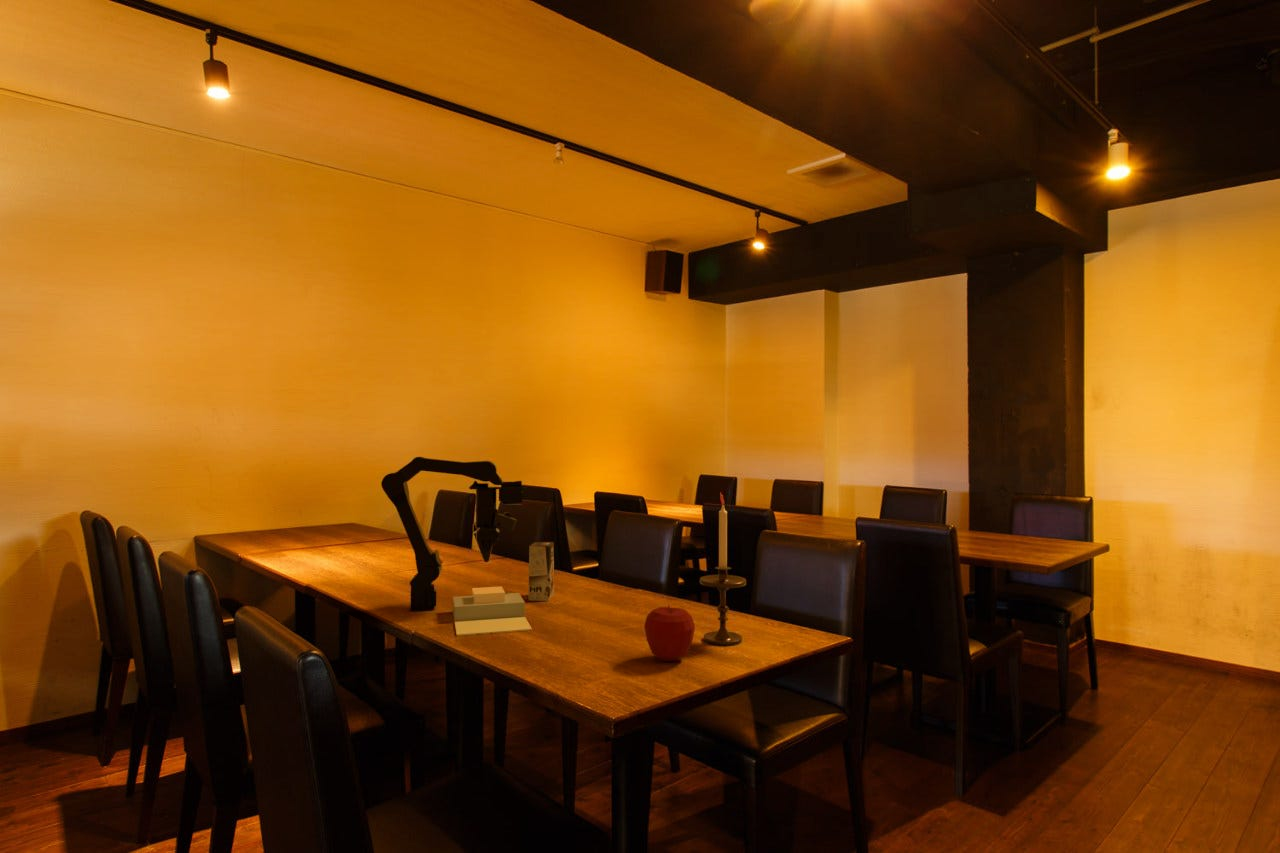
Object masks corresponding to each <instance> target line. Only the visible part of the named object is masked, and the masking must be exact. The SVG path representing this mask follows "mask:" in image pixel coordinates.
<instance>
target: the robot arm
mask: <svg viewBox="0 0 1280 853" xmlns="http://www.w3.org/2000/svg"><path fill="white" fill-rule="evenodd" d="M497 469H498V468H497V466H496V464H495V463H494V462H492V461H490V460H478V461H477V460H476V461H456V460H448V459H437V458H427V457H423V456H416V457H414V458H413V459H412V460H411V461H410V462H408V463H407V464H406V465H404V466H403V467H401V468H400V469H399V470H397V471H395V472H390V473H388V474H386V475H384V477H383V478H382V480H381V484H380V485H381V488H382V490H383V492H384V493H385V495H386V496H387V499H389V501H390V502H391V503H392V505H394V507H395V509H396V510H397V514H398V515H399V519H400V521H401V524H402V525H403V528H404V530H405V533H406V536H407V537H408V540H409V542H410V545H411V547H412V550H413V552H414V556H415V558H414V559H415V566H416V571H417V573H416V574H415V575H414V576H413V577H412V578H411V580H410V581H409V584H410V585H409V586H410V604H409V612H418V611H433V610H436V609H435V607H436V606H437V589H435V583H434V582H435V581H436V580H437V579H439V577H440V575H441V572H442V570H443V569H442V568H443V566H442V564H443V562H444V561H443V560H442V559H441V557H440V554H439V550H438V549H436V550H434V551H433V550H432V549H431V547H430V546H429V544H428V542H427V540H426V536H425V534H424V531H423V530H422V527H421V525H420V522H419V520H418V517H417V515H416V512H415V510H414V508H413V504H412V502H411V498H410V490H409V486H408V482H409V481H411V479H413V478H414V477H415V476H417V474H419V473H420V472H428V473H429V472H430V473H439V474H440V473H441V474H448V475H457V476H458V475H459V476H465V477H467V478H471V479H474V481H473V483H472V484H471V485H470V486H469V487H468V489H469V490H475V508H474V509H475V510H474V511H475V522H474V523H473V524H472V532H473V535H474V539H475V541H476V544H477V546H478V549H479V552H480V554H481V557H482V559H483V562H485V563H488V562H490V558H491V557H490V556H491V554H492V548H493V544H494V543H495V542H497V541H498V540H499V539H500V538H501V531H500V529H499V527H503V528H505V529H508V530H509V531H514V529H515V527H516V524H517V519H516V518H514V517H512V514H511V513H510V512H508V511H505V512H504V513H503V514H502V513H499V510H498V508H497V490H498V502H501V503H502V505H503V506H504V505H505V506H506V505H507V506H509V505H513V506H515V505H517V506H519V505H521V506H522V505H523V487H522V486H523V485H522V484H523V482H522V480H516V481H514V480H513V481H503V478H502V477H500V476H499V474H498V473H497V472H498V471H497ZM478 481H481V482H478ZM482 482H483V483H482ZM486 482H487V483H486ZM488 482H489V483H491V484H492V485H493V486H489V483H488Z"/></svg>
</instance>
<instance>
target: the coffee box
mask: <svg viewBox="0 0 1280 853" xmlns="http://www.w3.org/2000/svg"><path fill="white" fill-rule="evenodd" d="M528 548H529V549H528V552H529V553H528V555H529V556H528V601H531V602H535V601H536V602H539V601H542V602H550V601H551V599H552V597H553V596H554V589H555V588H554V583H555V582H554V581H555V576H554V572H555V570H554V568H555V564H554V563H555V559H554V558H555V557H554V556H555V542H554V541H541V542H538V541H536V542H533V543H531V544H530V545H529V547H528Z"/></svg>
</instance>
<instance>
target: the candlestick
mask: <svg viewBox="0 0 1280 853" xmlns="http://www.w3.org/2000/svg"><path fill="white" fill-rule="evenodd" d="M719 495H720V498H719V499H720V502H721V509H720V510H719V511H718V566H715V567H714V569H716V570H718V574H708V575H703V576H701V577H699V584H700V585H701V586H704V587H708V588H715V589H717V590H718V591H719V605H718V606H717V607H716V610H717V612H718V613H719V616H718V617H717V621H719V628H718V630H715V631H709V632H705V634H703V642H705V643H706V644H710V645H713V646H720V647H731V646H738V645H739V644H742V643H743V637H742V635H740V634H739V633H736V632H733V631H728V630H727V628H726V626H727V625H726V624H727V623H726V622H727V621H728V620H729V617H727V613H728V612H729V609H730V608H729V606H727V605H726V604H727V599H726V598H727V595H726V592H727V591H728V590H730V589H737V588H743V587H745V586H746V585H747V579H746V578H745V577H742V576H739V575H732V574H728V570H732V567H730V566H728V511H727V510H726V509H725V500H724V495H723V494H722V492H720V493H719Z"/></svg>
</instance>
